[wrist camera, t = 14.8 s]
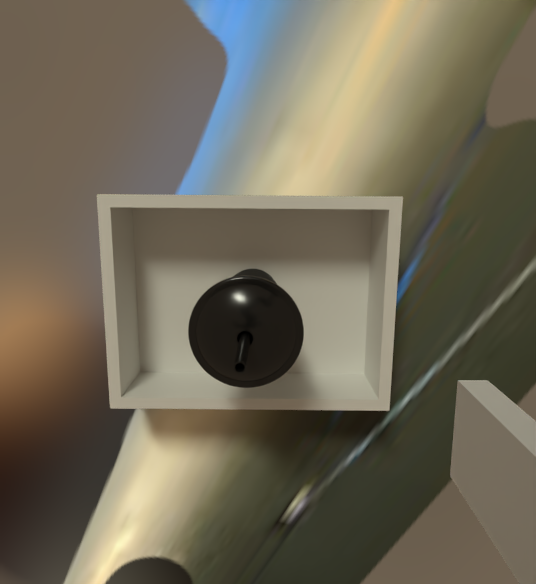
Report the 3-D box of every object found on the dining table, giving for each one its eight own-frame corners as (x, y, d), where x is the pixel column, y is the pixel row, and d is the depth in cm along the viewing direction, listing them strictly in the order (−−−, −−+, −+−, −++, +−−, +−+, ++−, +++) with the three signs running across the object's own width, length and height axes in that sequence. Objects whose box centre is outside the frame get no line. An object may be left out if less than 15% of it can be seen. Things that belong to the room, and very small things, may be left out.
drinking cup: (275, 343, 44) (280, 454, 25) (201, 315, 44) (146, 405, 24) (305, 271, 43) (336, 328, 23) (229, 241, 43) (196, 273, 23)
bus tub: (381, 197, 43) (402, 196, 36) (371, 379, 46) (389, 410, 39) (124, 195, 43) (96, 194, 36) (133, 377, 46) (110, 408, 39)
